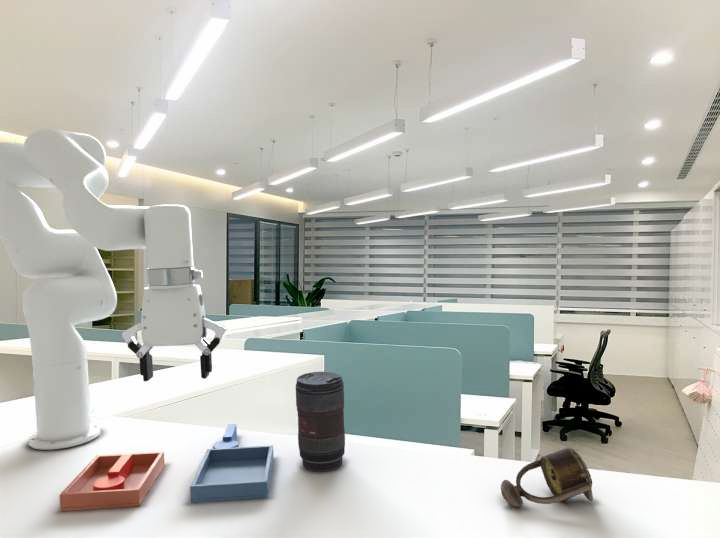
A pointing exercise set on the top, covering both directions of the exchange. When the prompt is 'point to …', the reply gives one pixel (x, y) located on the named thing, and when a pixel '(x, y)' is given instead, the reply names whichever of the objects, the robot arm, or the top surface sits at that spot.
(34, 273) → the robot arm
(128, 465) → the red spoon
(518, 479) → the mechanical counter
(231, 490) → the blue tray
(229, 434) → the blue spoon
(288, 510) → the top surface
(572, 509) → the top surface
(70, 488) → the red tray
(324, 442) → the camera lens
